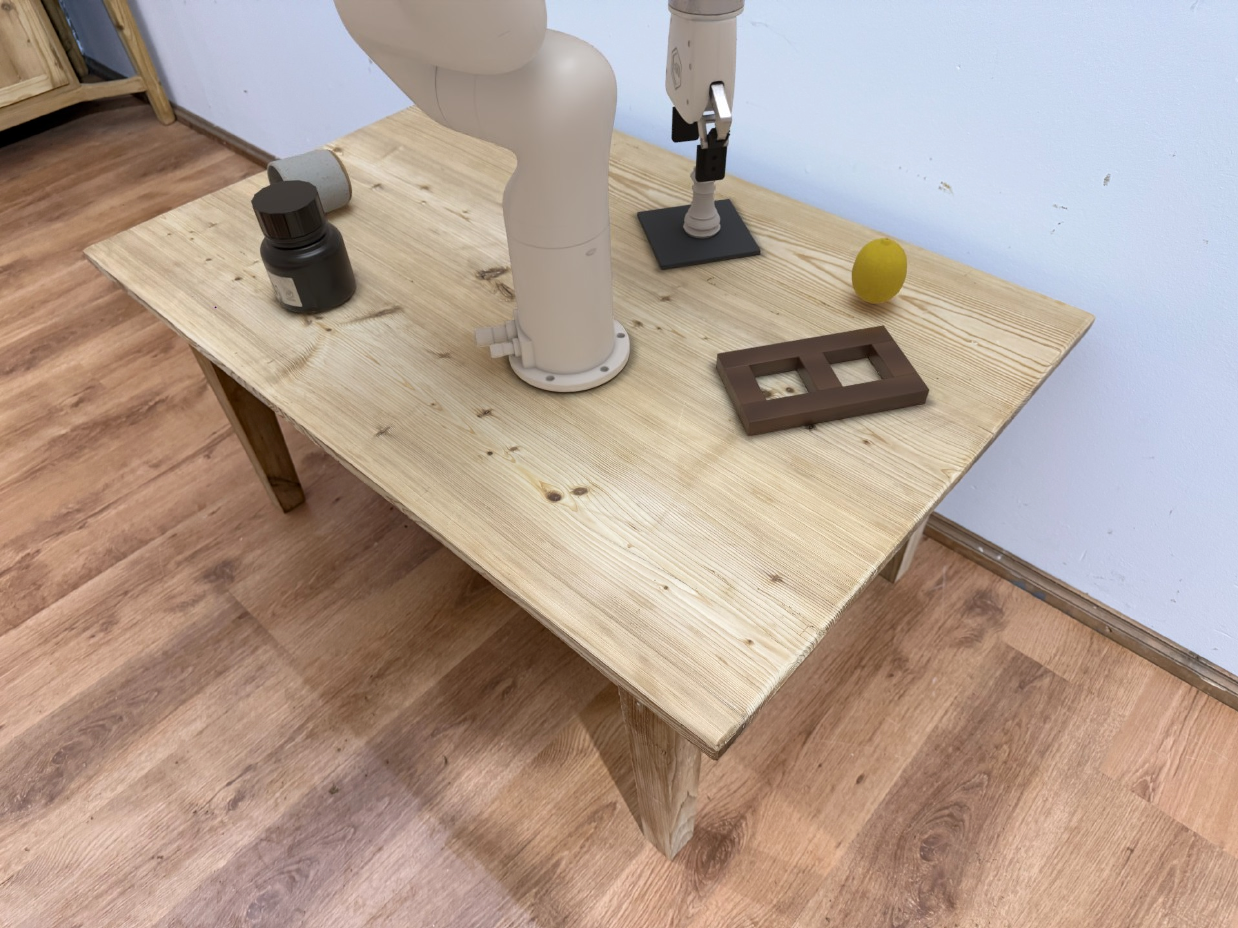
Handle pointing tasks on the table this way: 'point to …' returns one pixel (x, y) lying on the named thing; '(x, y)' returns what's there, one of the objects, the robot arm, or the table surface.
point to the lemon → (879, 270)
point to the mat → (687, 250)
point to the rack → (819, 380)
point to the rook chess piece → (702, 210)
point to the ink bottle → (302, 248)
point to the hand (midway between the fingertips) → (697, 159)
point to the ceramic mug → (316, 175)
